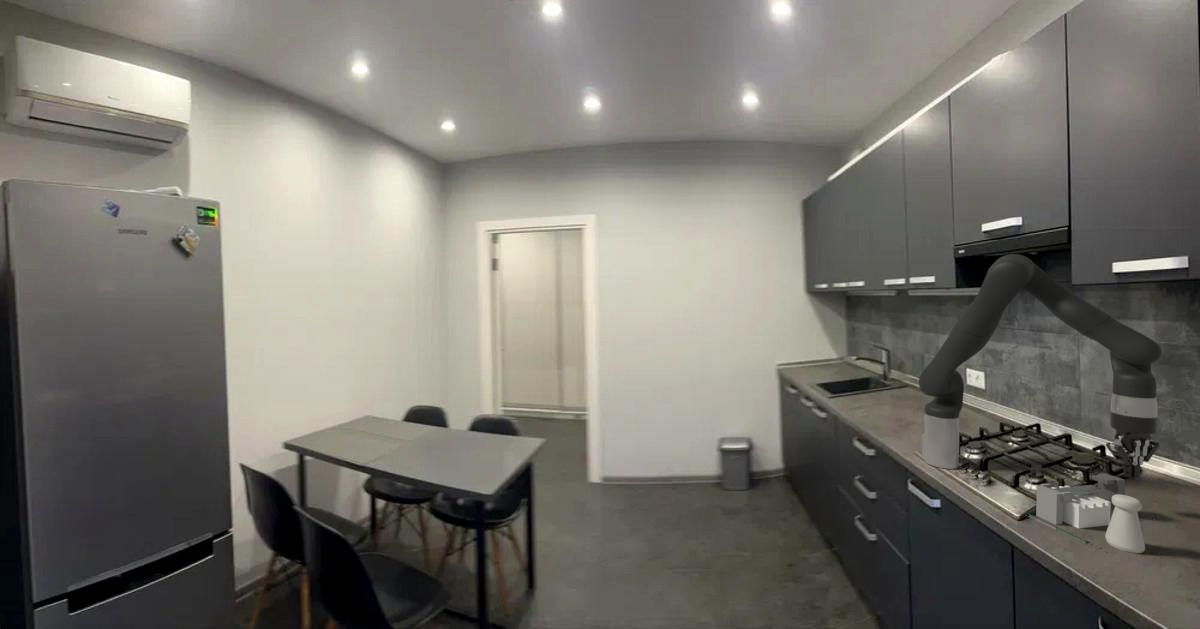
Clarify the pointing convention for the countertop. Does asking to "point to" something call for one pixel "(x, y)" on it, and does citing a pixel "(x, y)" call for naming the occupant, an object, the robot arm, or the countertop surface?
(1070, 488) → the strap
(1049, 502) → the heatsink base
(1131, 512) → the salt shaker
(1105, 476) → the block
